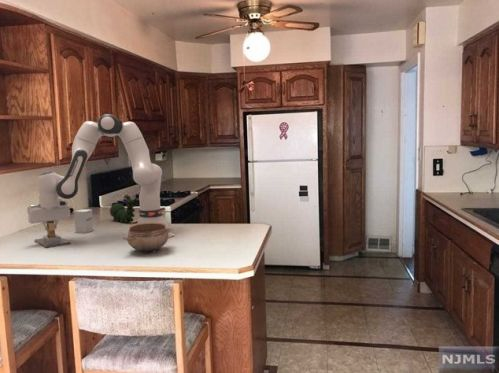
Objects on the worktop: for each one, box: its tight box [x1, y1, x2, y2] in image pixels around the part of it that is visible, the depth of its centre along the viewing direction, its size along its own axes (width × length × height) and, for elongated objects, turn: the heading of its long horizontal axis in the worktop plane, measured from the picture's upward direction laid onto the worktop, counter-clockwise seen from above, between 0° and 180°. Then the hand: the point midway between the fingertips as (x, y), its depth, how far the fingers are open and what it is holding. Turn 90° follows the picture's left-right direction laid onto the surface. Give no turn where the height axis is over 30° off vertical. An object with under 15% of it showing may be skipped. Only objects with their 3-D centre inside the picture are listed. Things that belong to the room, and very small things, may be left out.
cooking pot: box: [122, 222, 172, 254], centre depth 202 cm, size 25×19×12 cm
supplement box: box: [73, 208, 94, 234], centre depth 249 cm, size 7×7×13 cm
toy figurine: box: [109, 194, 136, 224], centre depth 276 cm, size 10×19×26 cm
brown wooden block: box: [45, 221, 56, 237], centre depth 224 cm, size 5×2×8 cm, turn 41°
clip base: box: [34, 233, 71, 249], centre depth 225 cm, size 20×12×4 cm, turn 41°
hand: (50, 229), depth 224 cm, fingers closed on brown wooden block, 2 cm apart
